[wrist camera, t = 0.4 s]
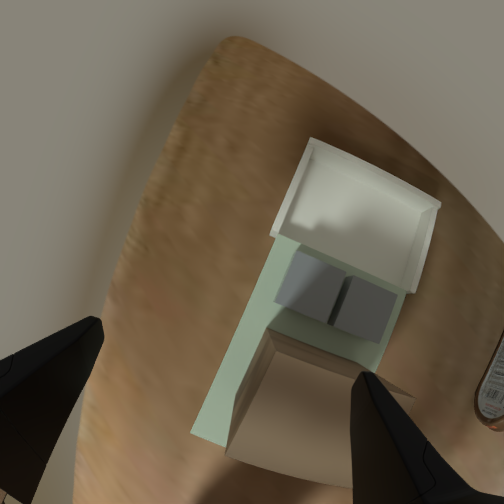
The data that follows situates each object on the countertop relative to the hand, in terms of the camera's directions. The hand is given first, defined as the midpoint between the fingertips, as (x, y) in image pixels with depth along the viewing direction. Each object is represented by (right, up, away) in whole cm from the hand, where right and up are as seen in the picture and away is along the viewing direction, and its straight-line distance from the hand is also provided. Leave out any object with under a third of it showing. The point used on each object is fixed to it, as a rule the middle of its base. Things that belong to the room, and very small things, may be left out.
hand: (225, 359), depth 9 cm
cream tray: (+10, +6, +17) cm, 20 cm away
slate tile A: (+5, +1, +14) cm, 15 cm away
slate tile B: (+9, -1, +14) cm, 17 cm away
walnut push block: (+4, -7, +13) cm, 15 cm away
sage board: (+5, -6, +15) cm, 17 cm away
